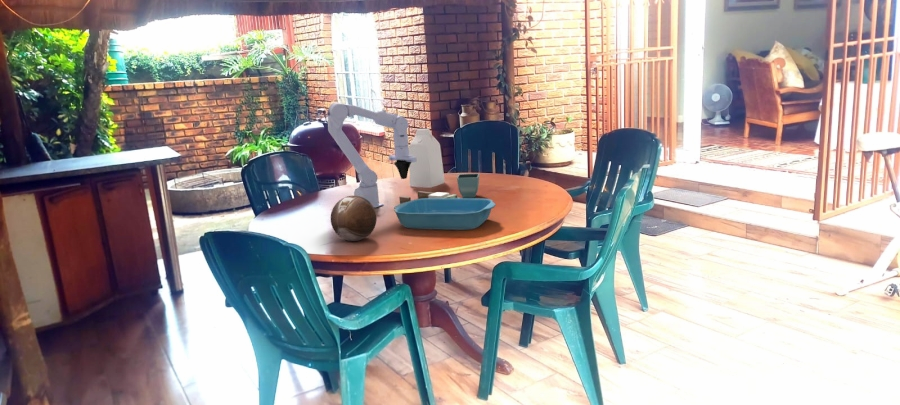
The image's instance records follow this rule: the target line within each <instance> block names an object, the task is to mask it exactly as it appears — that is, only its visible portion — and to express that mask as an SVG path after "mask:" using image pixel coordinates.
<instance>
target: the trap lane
mask: <svg viewBox="0 0 900 405" xmlns="http://www.w3.org/2000/svg"><path fill="white" fill-rule="evenodd" d="M416 193H417V199H423V198H428V195H430V194H433V193H434V192H431V191H421V190H420V191H417V192H416ZM398 198H399V204H401V203H405V202H409V201H411V196H405V195H401V196H399V197H398ZM443 198H461V196H460V197H459V196H458V194H455V193H453V194H449V196H446V197H443Z"/></svg>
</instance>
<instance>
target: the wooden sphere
mask: <svg viewBox="0 0 900 405" xmlns="http://www.w3.org/2000/svg"><path fill="white" fill-rule="evenodd" d="M330 224H331V225H330V226H331V227H332V229H333V231H334V233H335V234H336V235H337V236H338V237H339V238H342V240H346V241H348V242H358V241H362V240H365V239H366V238H368V237H369V236H370V235H371V234H372V233H373V231H374V230H375V228H376V225H377V212H376V209H375V208H374V207H373V205H372V204H371V203H370V202H369V201H368V200H367V199H365V198H363V197H360V196H354V195H348V196H345V197H343V198H341V199H340V200H338V201H337V202H336V203H335V205H334V206H333V207H332V209H331V214H330Z"/></svg>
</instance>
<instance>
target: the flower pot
mask: <svg viewBox="0 0 900 405" xmlns="http://www.w3.org/2000/svg"><path fill="white" fill-rule="evenodd" d="M456 179H457V188H458V192H459V194H460V197H461V198H476V196H477V193H478V192H479V191H478V189H479V186H480V173H461V174H460V173H459V174H458V175H457V177H456Z"/></svg>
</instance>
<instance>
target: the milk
mask: <svg viewBox="0 0 900 405" xmlns="http://www.w3.org/2000/svg"><path fill="white" fill-rule="evenodd" d="M408 146H409V155H411V156H413V157H416V159H417V162H411V164H410V167H409V169H408V172H409V187H412V188H415V187H416V188H434V187H437V186H439V185H442V184H445V182H446V181H445V174H444V165H443V158H442V150H441V144H440V142H439V141H438V140H437V139H436V138H435V136H434V135H433V134H432V132H431V130H430V128H417V129H416V133H415V135H414V137H413V139H412V141H411V142H410V144H409V145H408Z"/></svg>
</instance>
